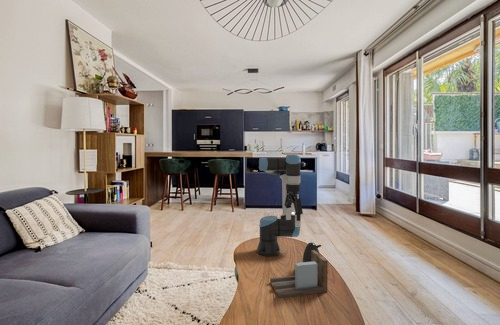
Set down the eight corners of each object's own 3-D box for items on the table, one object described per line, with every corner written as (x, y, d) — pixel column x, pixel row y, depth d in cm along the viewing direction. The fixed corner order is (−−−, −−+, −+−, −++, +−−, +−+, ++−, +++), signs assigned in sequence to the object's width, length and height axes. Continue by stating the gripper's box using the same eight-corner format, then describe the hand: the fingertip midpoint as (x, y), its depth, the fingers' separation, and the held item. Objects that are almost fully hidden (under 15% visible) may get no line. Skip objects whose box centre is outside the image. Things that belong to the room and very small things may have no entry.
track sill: (270, 282, 134) (270, 253, 134) (314, 278, 139) (314, 249, 138) (278, 297, 120) (278, 265, 120) (327, 291, 125) (327, 260, 125)
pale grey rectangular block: (295, 287, 127) (295, 263, 127) (314, 285, 129) (314, 261, 129) (297, 290, 124) (297, 265, 124) (317, 288, 126) (317, 263, 126)
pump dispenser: (321, 274, 143) (322, 246, 143) (302, 272, 145) (302, 245, 145) (320, 266, 153) (320, 240, 153) (302, 264, 155) (302, 239, 155)
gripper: (279, 180, 152) (278, 217, 153) (295, 187, 127) (294, 230, 128) (291, 180, 153) (291, 216, 154) (309, 186, 129) (309, 229, 130)
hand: (292, 223), depth 141 cm, fingers open, 13 cm apart
